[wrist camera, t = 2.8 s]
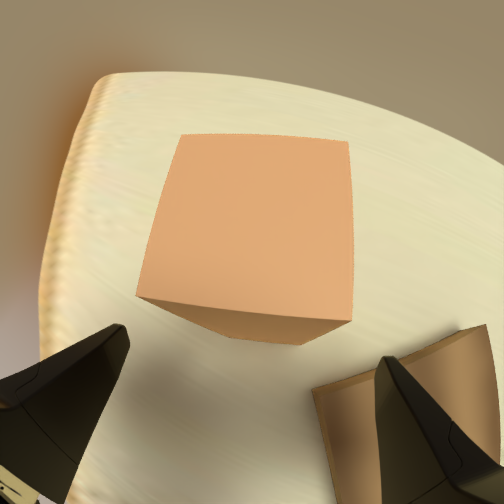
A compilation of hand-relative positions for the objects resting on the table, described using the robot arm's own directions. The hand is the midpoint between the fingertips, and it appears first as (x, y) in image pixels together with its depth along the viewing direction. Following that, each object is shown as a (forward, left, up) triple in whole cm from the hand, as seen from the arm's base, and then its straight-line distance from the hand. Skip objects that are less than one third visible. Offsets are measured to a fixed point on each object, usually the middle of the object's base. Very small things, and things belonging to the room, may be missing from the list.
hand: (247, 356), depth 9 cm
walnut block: (+9, -10, -11) cm, 17 cm away
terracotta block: (+1, +3, -11) cm, 11 cm away
